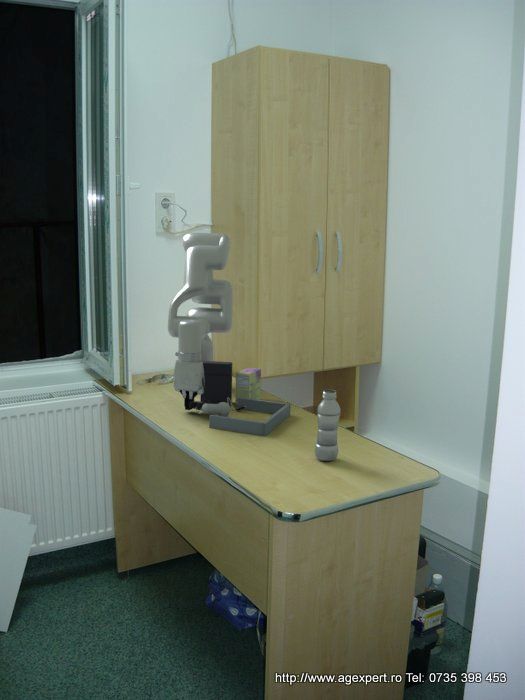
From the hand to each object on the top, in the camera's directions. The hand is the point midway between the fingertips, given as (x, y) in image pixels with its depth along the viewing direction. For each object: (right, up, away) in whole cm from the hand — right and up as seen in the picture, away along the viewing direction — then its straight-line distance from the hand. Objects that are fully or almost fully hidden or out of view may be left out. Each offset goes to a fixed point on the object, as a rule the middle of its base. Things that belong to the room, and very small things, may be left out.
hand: (189, 409), depth 232 cm
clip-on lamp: (+10, -2, -1) cm, 10 cm away
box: (+20, +1, +15) cm, 25 cm away
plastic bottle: (+43, -11, -40) cm, 60 cm away
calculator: (+8, +1, +13) cm, 15 cm away
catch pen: (+21, -3, -7) cm, 22 cm away
